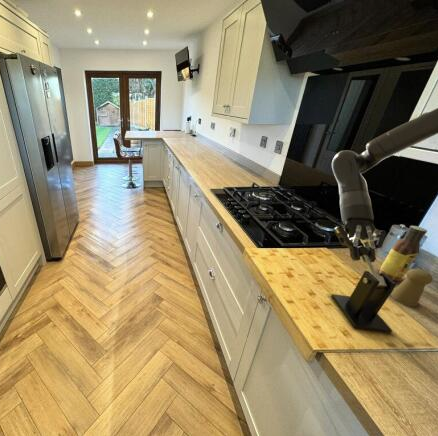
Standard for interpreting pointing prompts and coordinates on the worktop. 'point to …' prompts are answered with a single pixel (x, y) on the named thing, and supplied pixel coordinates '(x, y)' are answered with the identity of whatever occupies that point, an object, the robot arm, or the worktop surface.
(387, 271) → the sauce bottle
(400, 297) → the cork
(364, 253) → the lever
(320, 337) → the worktop surface
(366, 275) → the bracket
